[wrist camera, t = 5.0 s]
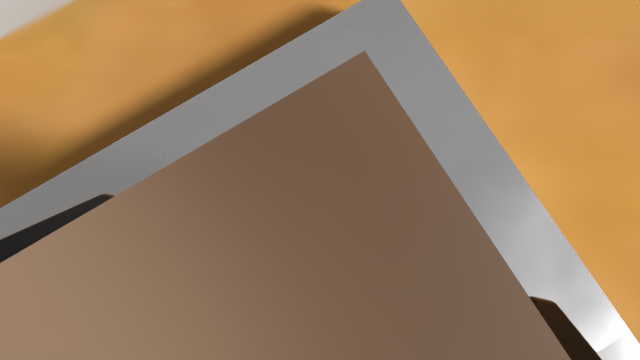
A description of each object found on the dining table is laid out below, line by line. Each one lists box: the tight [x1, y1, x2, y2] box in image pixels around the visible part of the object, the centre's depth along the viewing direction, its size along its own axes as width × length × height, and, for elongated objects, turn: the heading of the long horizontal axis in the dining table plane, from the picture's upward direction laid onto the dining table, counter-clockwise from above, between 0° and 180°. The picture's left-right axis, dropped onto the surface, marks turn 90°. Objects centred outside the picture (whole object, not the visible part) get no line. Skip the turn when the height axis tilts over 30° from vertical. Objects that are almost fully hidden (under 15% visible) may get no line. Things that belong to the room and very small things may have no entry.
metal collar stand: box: [0, 0, 640, 360], centre depth 14 cm, size 13×13×2 cm
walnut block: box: [0, 51, 571, 360], centre depth 10 cm, size 4×4×11 cm
